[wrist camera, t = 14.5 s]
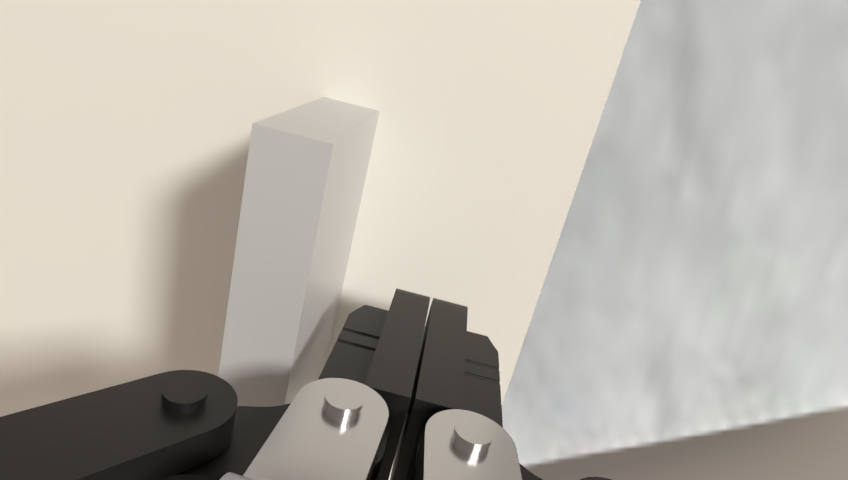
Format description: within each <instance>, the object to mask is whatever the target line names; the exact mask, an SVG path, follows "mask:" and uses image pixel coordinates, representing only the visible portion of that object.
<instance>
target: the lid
mask: <svg viewBox="0 0 848 480" xmlns="http://www.w3.org/2000/svg"><path fill="white" fill-rule="evenodd" d="M640 2H641V0H0V417H2V416H5V415H9V414H13V413H16V412H20V411H24V410H27V409H31V408H35V407H38V406H42V405H46V404H49V403H53V402H57V401H60V400H64V399H68V398H71V397H75V396H79V395H82V394H86V393H90V392H93V391H97V390H101V389H104V388H108V387H112V386H115V385H119V384H123V383H126V382H130V381H134V380H137V379H141V378H145V377H148V376H152V375H156V374H159V373H163V372H168V371H175V370H197V371H203V372H207V373H210V374H214V375H216V376H218V377H220V378H222V379H224V380H225V381H227V382H228V383H229V384H230V385H231V386H232V387H233V389H234V390H235V392H236V394H237V399H238V403H237V406H255V407H272V406H281V405H285V404H289V403H292V401H293V399H294V398H295V396H296V395H297V393H298V392H299V391H300V390H301V389H302V388H303V387H304V386H305V385H307V384H309V383H311V382H313V381H316V380H318V378H319V376H320V374H321V372H322V370H323V368H324V366H325V364H326V362H327V360H328V357H329V355H330V353H331V351H332V349H333V347H334V345H335V343H336V342H337V339H338V336H339V334H340V332H341V330H342V329H343V326H344V324H345V322H346V320H347V318H348V315H349V314H350V313H351V312H353V311H355V310H356V309H358V308H360V307H362V306H363V305H369V306H373V307H376V308H380V309H384V310H388V311H389V308H390V306H391V303H392V300H393V297H394V294H395V291H396V288H397V289H401V290H405V291H409V292H413V293H416V294H420V295H424V296H428V297H430V302H429V308H428V313H427V317H428V314H429V310H430V307H431V303H432V300H433V298H436V299H440V300H444V301H448V302H452V303H455V304H459V305H463V306H467V307H468V313H467V331H469V332H473V333H477V334H481V335H484V336H488V338H489V339H490V341H491V342H492V344H493V345H494V347H495V348H496V350H497V351H498V355H499V372H500V383H499V384H500V390H501V406H502V403H503V400H504V397H505V394H506V391H507V388H508V385H509V383H510V380H511V377H512V374H513V371H514V368H515V365H516V362H517V359H518V356H519V353H520V351H521V348H522V345H523V342H524V339H525V336H526V333H527V330H528V327H529V324H530V322H531V319H532V316H533V313H534V310H535V307H536V304H537V301H538V298H539V295H540V292H541V290H542V287H543V284H544V281H545V278H546V275H547V272H548V269H549V266H550V263H551V260H552V258H553V255H554V252H555V249H556V246H557V243H558V240H559V237H560V234H561V231H562V228H563V226H564V223H565V220H566V217H567V214H568V211H569V208H570V205H571V202H572V199H573V196H574V194H575V191H576V188H577V185H578V182H579V179H580V176H581V173H582V170H583V167H584V165H585V162H586V159H587V156H588V153H589V150H590V147H591V144H592V141H593V138H594V135H595V133H596V130H597V127H598V124H599V121H600V118H601V115H602V112H603V109H604V106H605V103H606V101H607V98H608V95H609V92H610V89H611V86H612V83H613V80H614V77H615V74H616V71H617V69H618V66H619V63H620V60H621V57H622V54H623V51H624V48H625V45H626V42H627V39H628V37H629V34H630V31H631V28H632V25H633V22H634V19H635V16H636V13H637V10H638V7H639V5H640ZM426 321H427V318H426ZM425 325H426V323H425ZM393 462H394V461H393ZM392 467H393V465H392ZM391 472H392V468H391ZM391 472H390V476H389V479H388V480H390V477H391Z"/></svg>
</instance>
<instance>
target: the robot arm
mask: <svg viewBox="0 0 848 480" xmlns="http://www.w3.org/2000/svg"><path fill="white" fill-rule="evenodd" d="M429 302H430V297H428V296H424V295H420V294H416V293H413V292H409V291H405V290H401V289H397V288H396V291H395V294H394V297H393V300H392V303H391V306H390V308H389V311H388V310H384V309H380V308H376V307H373V306H369V305H363V306H362V307H360V308H358V309H356V310H355V311H353V312H351V313H350V314H349V315H348V318H347V320H346V322H345V324H344V326H343V329H342V330H341V332H340V334H339V336H338V339H337V342H336V343H335V345H334V347H333V349H332V351H331V353H330V355H329V357H328V360H327V362H326V364H325V366H324V368H323V370H322V372H321V374H320V376H319V378H318V380H316V381H313V382H311V383H309V384H307V385H305V386H304V387H303V388H302V389H301V390H300V391H299V392H298V393H297V395H296V396H295V398H294V399H293V401H292V403H289V404H285V405H281V406H272V407H255V406H237V403H238V399H237V394H236V392H235V390H234V389H233V387H232V386H231V385H230V384H229V383H228V382H227V381H225V380H224V379H222V378H220V377H218V376H216V375H214V374H210V373H207V372H203V371H197V370H175V371H168V372H163V373H159V374H156V375H152V376H148V377H145V378H141V379H137V380H134V381H130V382H126V383H123V384H119V385H115V386H112V387H108V388H104V389H101V390H97V391H93V392H90V393H86V394H82V395H79V396H75V397H71V398H68V399H64V400H60V401H57V402H53V403H49V404H46V405H42V406H38V407H35V408H31V409H27V410H24V411H20V412H16V413H13V414H9V415H5V416H2V417H0V480H388V479H389V476H390V472H391V468H392V472H391V477H390V480H542V479H541V478H539V477H537V476H535V475H534V474H532V473H531V472H529V471H528V470H527V469H526V468H524V467H523V466H522V465H521V464H520V463H519V460H518V455H517V450H516V446H515V444H514V442H513V440H512V438H511V437H510V435H509V434H508V433H507V432H506V431H505V430H504V429H503V425H502V408H501V390H500V384H499V383H500V372H499V355H498V351H497V350H496V348H495V347H494V345H493V344H492V342H491V341H490V339H489V338H488V336H484V335H481V334H477V333H473V332H469V331H467V313H468V307H467V306H463V305H459V304H455V303H452V302H448V301H444V300H440V299H436V298H433V300H432V303H431V307H430V310H429V314H428V317H427V313H428V308H429ZM426 318H427V321H426ZM425 323H426V325H425ZM393 461H394V462H393ZM392 465H393V467H392ZM581 480H611V479H607V478H601V477H587V478H583V479H581Z"/></svg>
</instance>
